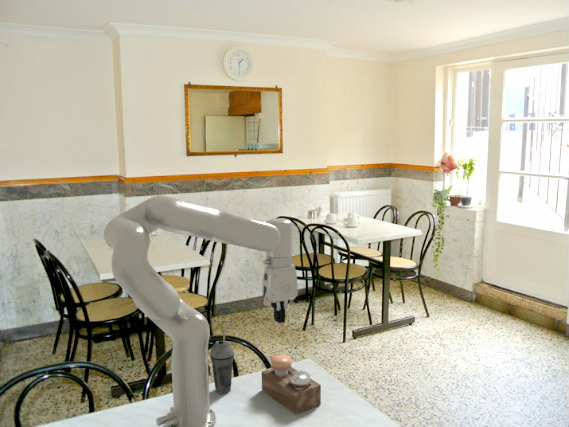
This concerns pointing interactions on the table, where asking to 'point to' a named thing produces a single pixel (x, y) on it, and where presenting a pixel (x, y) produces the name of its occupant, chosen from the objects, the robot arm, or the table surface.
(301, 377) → the steel plug
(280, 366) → the peach domed piece
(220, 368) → the beverage cup
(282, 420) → the table surface
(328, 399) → the table surface
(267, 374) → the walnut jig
